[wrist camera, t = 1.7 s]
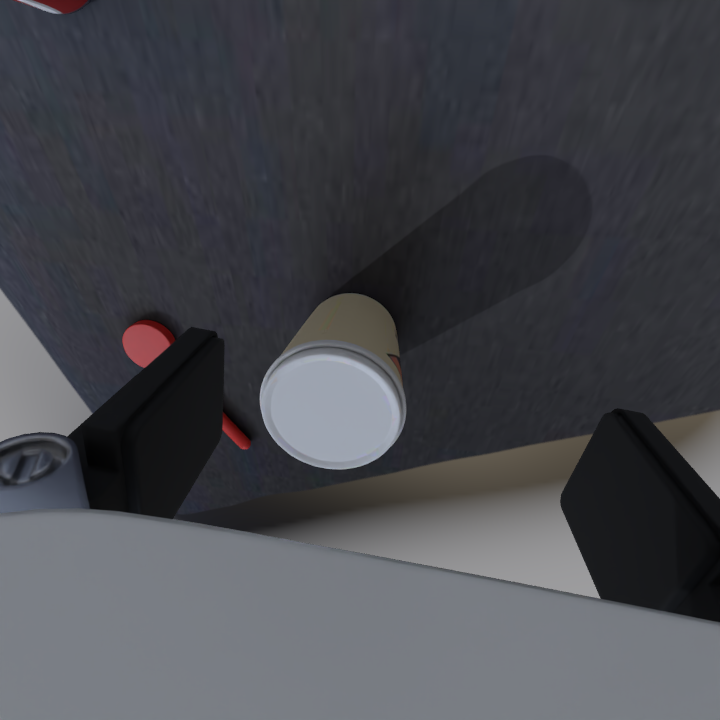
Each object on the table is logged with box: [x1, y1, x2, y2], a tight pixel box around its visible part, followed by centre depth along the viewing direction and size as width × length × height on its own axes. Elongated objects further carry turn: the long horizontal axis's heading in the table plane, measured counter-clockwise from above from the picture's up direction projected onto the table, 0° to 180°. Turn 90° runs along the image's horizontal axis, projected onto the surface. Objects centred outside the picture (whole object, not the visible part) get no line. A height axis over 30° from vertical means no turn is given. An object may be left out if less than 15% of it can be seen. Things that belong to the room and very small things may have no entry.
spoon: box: [123, 320, 251, 449], centre depth 41 cm, size 16×5×1 cm, turn 35°
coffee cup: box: [260, 293, 406, 469], centre depth 32 cm, size 9×9×12 cm
